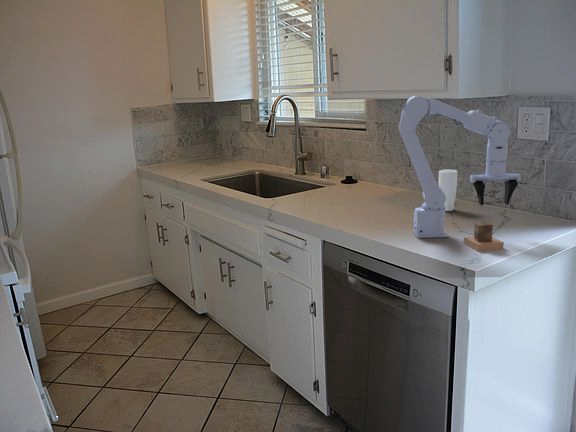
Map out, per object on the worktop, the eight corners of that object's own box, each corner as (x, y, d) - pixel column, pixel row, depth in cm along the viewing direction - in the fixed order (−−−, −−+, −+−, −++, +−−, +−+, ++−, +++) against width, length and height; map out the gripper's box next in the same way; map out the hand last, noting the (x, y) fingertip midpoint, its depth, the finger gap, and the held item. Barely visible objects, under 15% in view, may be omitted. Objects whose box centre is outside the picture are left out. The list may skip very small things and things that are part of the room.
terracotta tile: (477, 253, 148) (477, 244, 147) (463, 245, 156) (464, 237, 155) (503, 250, 149) (503, 242, 149) (488, 242, 157) (488, 234, 156)
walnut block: (477, 242, 150) (478, 225, 149) (474, 237, 154) (474, 221, 152) (491, 241, 149) (492, 225, 148) (487, 237, 153) (488, 221, 152)
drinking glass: (452, 207, 199) (454, 168, 195) (458, 211, 193) (460, 171, 189) (435, 208, 199) (436, 169, 195) (440, 212, 192) (442, 172, 189)
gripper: (475, 163, 153) (473, 207, 157) (525, 161, 152) (522, 206, 156) (469, 160, 160) (467, 202, 163) (517, 158, 159) (514, 201, 162)
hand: (493, 204), depth 160 cm, fingers open, 7 cm apart
